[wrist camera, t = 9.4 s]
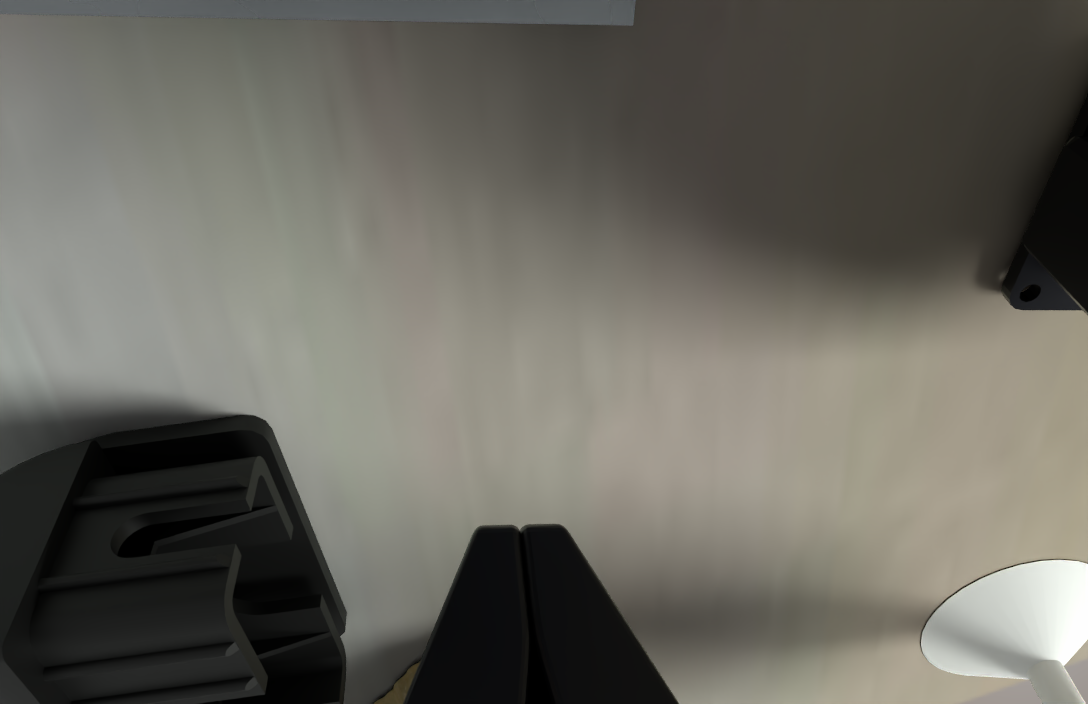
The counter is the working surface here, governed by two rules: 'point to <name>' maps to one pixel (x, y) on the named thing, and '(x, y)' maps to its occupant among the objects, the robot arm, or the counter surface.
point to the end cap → (165, 574)
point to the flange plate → (348, 10)
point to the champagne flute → (1015, 627)
